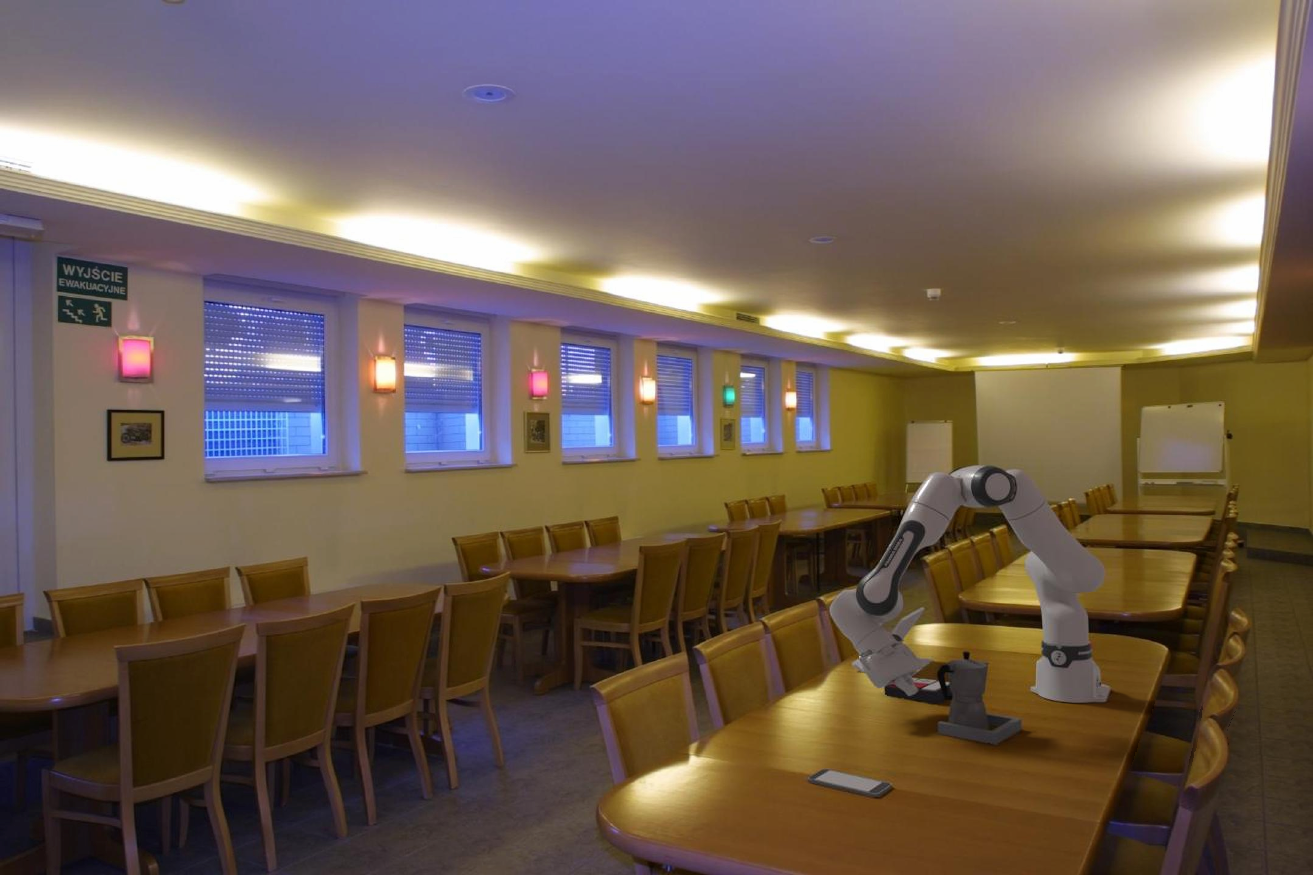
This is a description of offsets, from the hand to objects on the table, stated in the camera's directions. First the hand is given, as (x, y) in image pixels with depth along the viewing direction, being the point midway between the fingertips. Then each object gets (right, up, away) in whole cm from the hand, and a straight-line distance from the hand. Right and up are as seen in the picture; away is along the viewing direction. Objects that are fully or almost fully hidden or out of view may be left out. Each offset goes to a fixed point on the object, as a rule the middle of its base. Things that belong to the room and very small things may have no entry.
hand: (914, 693), depth 220 cm
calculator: (+8, -7, +22) cm, 24 cm away
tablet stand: (+10, -8, +57) cm, 59 cm away
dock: (+12, -6, -11) cm, 17 cm away
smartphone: (-25, -6, -43) cm, 50 cm away
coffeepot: (+9, -6, -9) cm, 14 cm away
